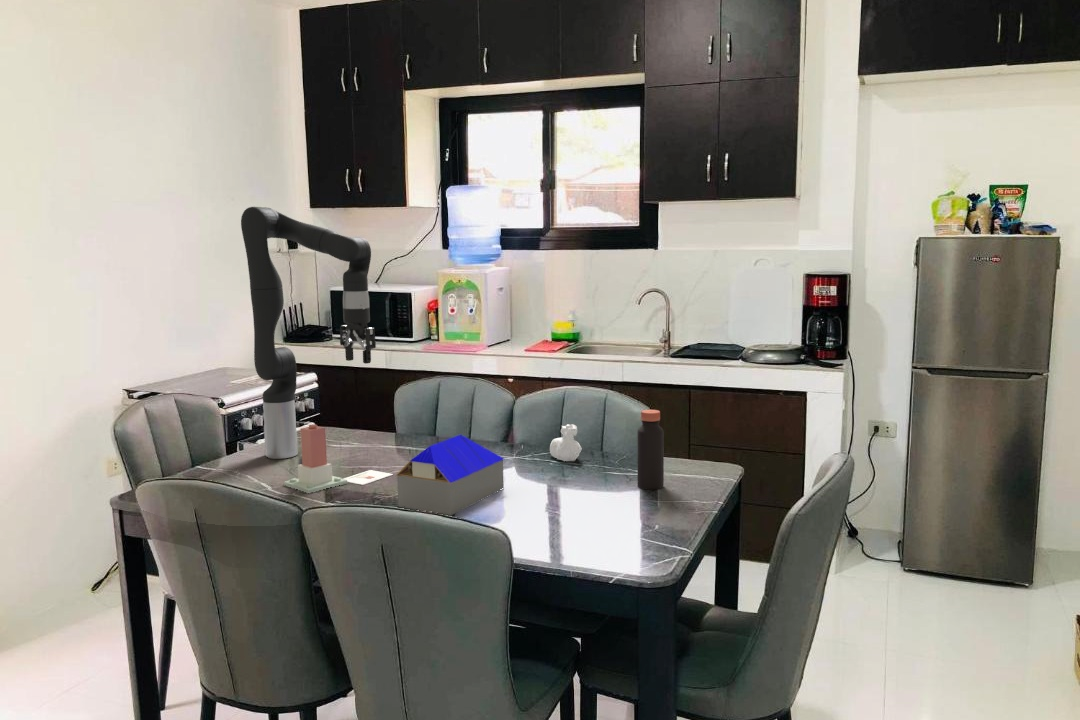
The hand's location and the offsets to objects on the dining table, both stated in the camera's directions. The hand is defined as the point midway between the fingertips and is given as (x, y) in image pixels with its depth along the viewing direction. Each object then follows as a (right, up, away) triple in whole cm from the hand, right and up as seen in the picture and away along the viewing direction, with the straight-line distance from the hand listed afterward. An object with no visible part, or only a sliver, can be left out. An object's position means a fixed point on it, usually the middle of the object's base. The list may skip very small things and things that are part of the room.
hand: (358, 361), depth 252 cm
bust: (+61, -29, +3) cm, 68 cm away
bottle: (+82, -33, -27) cm, 92 cm away
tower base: (-7, -33, -20) cm, 39 cm away
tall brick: (-7, -28, -21) cm, 35 cm away
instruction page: (+5, -32, -14) cm, 35 cm away
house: (+31, -35, -34) cm, 57 cm away
